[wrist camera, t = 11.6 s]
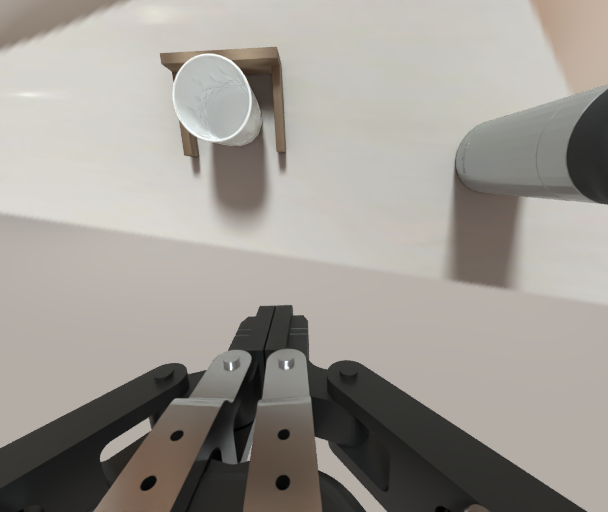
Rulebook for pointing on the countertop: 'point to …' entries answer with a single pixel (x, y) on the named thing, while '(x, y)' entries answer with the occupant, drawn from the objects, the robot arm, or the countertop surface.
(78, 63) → the countertop surface
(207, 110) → the white cup
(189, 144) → the walnut bay
